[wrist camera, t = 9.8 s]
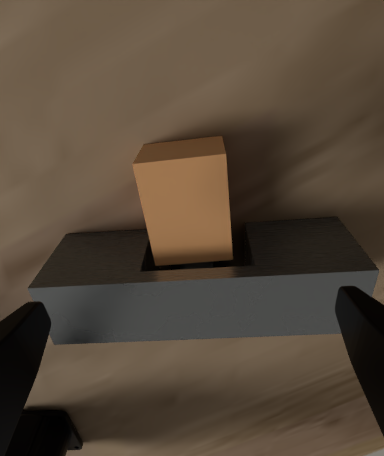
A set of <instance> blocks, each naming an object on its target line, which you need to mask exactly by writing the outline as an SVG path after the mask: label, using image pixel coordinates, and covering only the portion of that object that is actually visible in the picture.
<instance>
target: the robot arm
mask: <svg viewBox="0 0 384 456" xmlns="http://www.w3.org/2000/svg"><path fill="white" fill-rule="evenodd" d="M335 314H336V317H337V321H338V324H339V327H340V330H341V333H342V336H343V339H344V343H345V346H346V349H347V352H348V355H349V358H350V361H351V364H352V366H353V369H354V371H355V373H356V376H357V378H358V380H359V382H360V385H361V387H362V389H363V391H364V394H365V396H366V398H367V400H368V403H369V405H370V407H371V409H372V411H373V414H374V416H375V418H376V420H377V423H378V425H379V427H380V429H381V432H382V434H383V436H384V305H383V304H381V303H380V302H378V301H377V300H375V299H374V298H372V297H371V296H369V295H368V294H367V293H365V292H364V291H362V290H361V289H359V288H358V287H356V286H341V287H340V288H339V289H338V293H337V298H336V303H335ZM50 329H51V319H50V317H49V314H48V312H47V310H46V308H45V306H44V304H43V303H42V302H40V301H35V302H27V303H26V304H24V305H23V306H21V307H20V308H19V309H17V310H16V311H14V312H13V313H12V314H10V315H9V316H7V317H6V318H5V319H3V320H2V321H0V456H66V452H67V450H80V449H82V446H83V442H82V441H81V439H80V437H79V435H78V433H77V431H76V429H75V428H74V426H73V424H72V422H71V420H70V418H69V417H68V415H67V413H66V412H64V411H32V412H22V411H23V408H24V406H25V403H26V401H27V398H28V396H29V393H30V391H31V388H32V386H33V384H34V381H35V378H36V376H37V373H38V370H39V367H40V363H41V360H42V356H43V353H44V349H45V346H46V342H47V339H48V336H49V332H50Z"/></svg>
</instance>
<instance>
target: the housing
mask: <svg viewBox="0 0 384 456" xmlns="http://www.w3.org/2000/svg"><path fill="white" fill-rule="evenodd" d="M378 273H379V269H378V268H377V267H376V265H375V264H374V263H373V262H372V260H371V259H370V258H369V257H368V255H367V254H366V253H365V251H364V250H363V249H362V248H361V246H360V245H359V244H358V242H357V241H356V240H355V239H354V237H353V236H352V235H351V234H350V232H349V231H348V230H347V228H346V227H345V226H344V225H343V223H342V222H341V221H340V219H339V218H338V217H329V218H313V219H298V220H282V221H266V222H251V223H245V266H237V267H218V268H200V269H182V270H163V271H159V267H158V266H155V262H154V257H153V253H152V248H151V244H150V240H149V235H148V231H147V229H141V230H125V231H110V232H94V233H78V234H66V235H65V236H64V238H63V239H62V240H61V242H60V243H59V245H58V246H57V247H56V249H55V250H54V252H53V253H52V255H51V256H50V257H49V259H48V260H47V262H46V263H45V264H44V266H43V267H42V269H41V270H40V272H39V273H38V274H37V276H36V277H35V279H34V280H33V281H32V283H31V284H30V286H29V287H28V291H29V293H30V295H31V297H32V299H33V301H34V302H35V301H40V302H42V303H43V304H44V306H45V308H46V310H47V312H48V314H49V317H50V319H51V329H50V332H49V334H50V336H51V339H52V341H53V343H54V345H57V344H83V343H108V342H134V341H160V340H186V339H211V338H237V337H263V336H289V335H314V334H340V333H341V330H340V327H339V324H338V321H337V317H336V314H335V303H336V298H337V293H338V289H339V288H340V287H341V286H356V287H358V288H359V289H361V290H362V291H364V292H365V293H367V294H368V295H369V296H371V297H372V294H373V291H374V287H375V284H376V280H377V276H378Z"/></svg>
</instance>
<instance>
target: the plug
mask: <svg viewBox="0 0 384 456" xmlns="http://www.w3.org/2000/svg"><path fill="white" fill-rule="evenodd" d="M133 169H134V173H135V178H136V182H137V186H138V191H139V195H140V200H141V204H142V209H143V213H144V217H145V222H146V226H147V231H148V235H149V240H150V244H151V248H152V253H153V257H154V262H155V266H161V265H173V264H180V265H181V270H182V269H200V268H214V264H213V261H223V260H233V253H232V237H231V222H230V207H229V191H228V176H227V160H226V151H225V147H224V142H223V138H222V136H215V137H206V138H197V139H188V140H180V141H171V142H162V143H153V144H145V145H143V147H142V148H141V150H140V152H139V154H138V155H137V157H136V159H135V161H134V162H133Z"/></svg>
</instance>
